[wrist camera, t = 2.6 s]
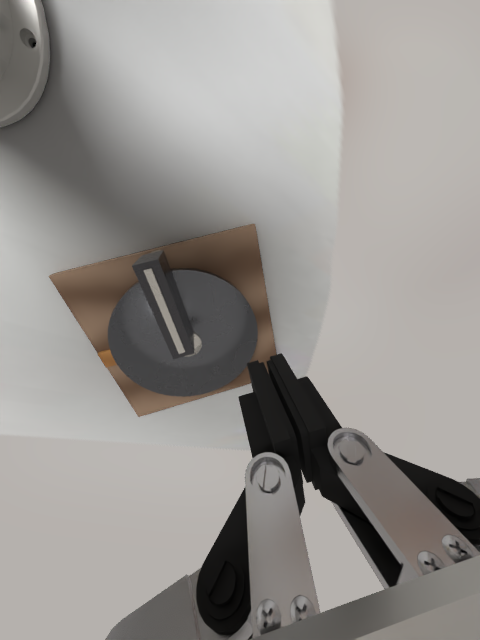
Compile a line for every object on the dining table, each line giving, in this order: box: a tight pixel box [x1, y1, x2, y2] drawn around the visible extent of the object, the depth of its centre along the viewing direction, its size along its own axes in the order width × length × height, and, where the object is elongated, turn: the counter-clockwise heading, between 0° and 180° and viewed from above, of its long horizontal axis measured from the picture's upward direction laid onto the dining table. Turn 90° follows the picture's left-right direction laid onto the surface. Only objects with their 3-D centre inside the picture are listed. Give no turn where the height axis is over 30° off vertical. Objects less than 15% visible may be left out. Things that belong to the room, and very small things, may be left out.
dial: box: [108, 250, 258, 397], centre depth 24 cm, size 18×16×5 cm
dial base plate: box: [49, 224, 276, 417], centre depth 27 cm, size 20×20×1 cm
